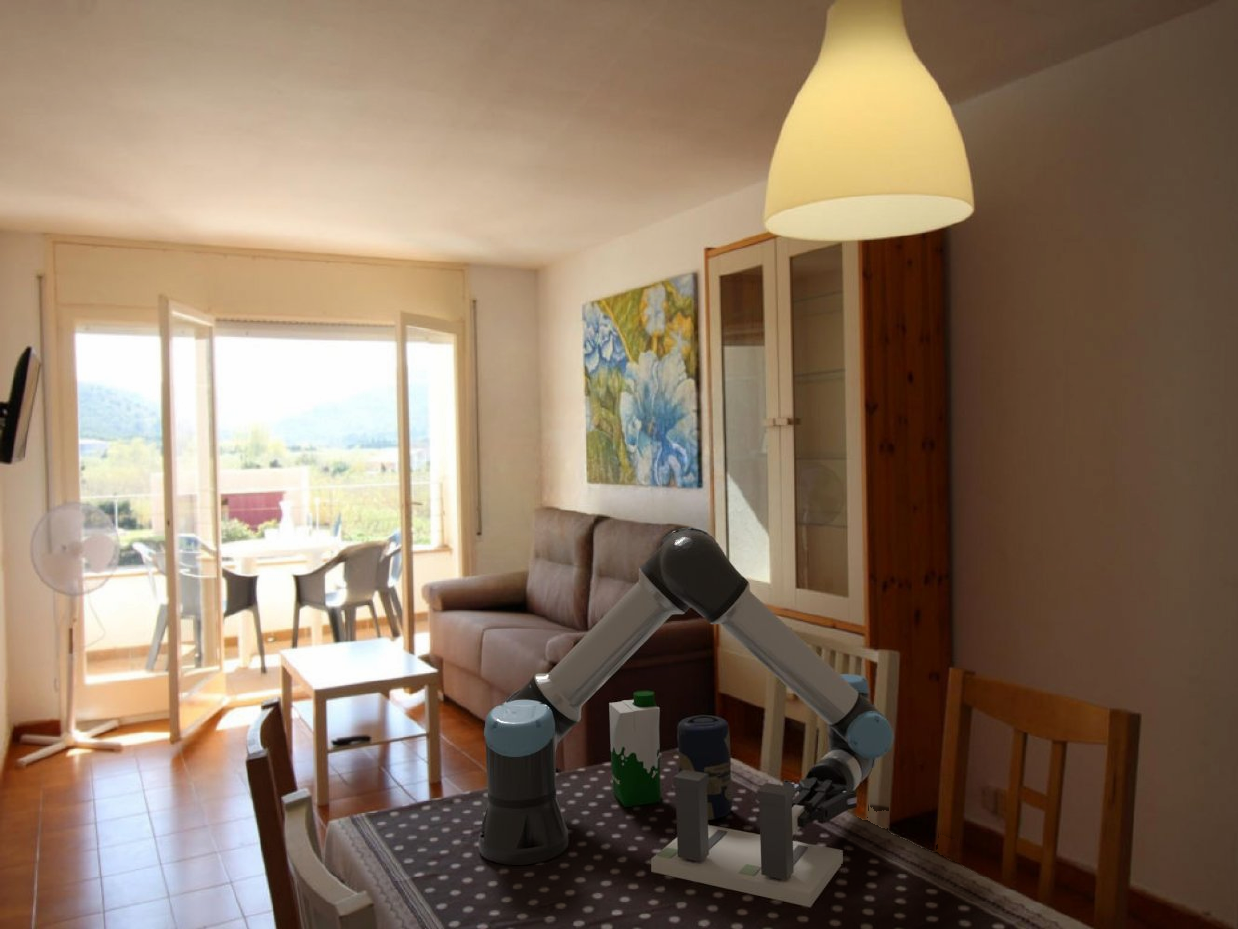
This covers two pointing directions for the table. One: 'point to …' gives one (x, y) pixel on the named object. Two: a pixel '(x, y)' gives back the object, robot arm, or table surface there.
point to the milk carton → (635, 749)
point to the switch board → (752, 867)
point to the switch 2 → (776, 830)
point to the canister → (708, 758)
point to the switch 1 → (692, 814)
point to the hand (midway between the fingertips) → (785, 829)
